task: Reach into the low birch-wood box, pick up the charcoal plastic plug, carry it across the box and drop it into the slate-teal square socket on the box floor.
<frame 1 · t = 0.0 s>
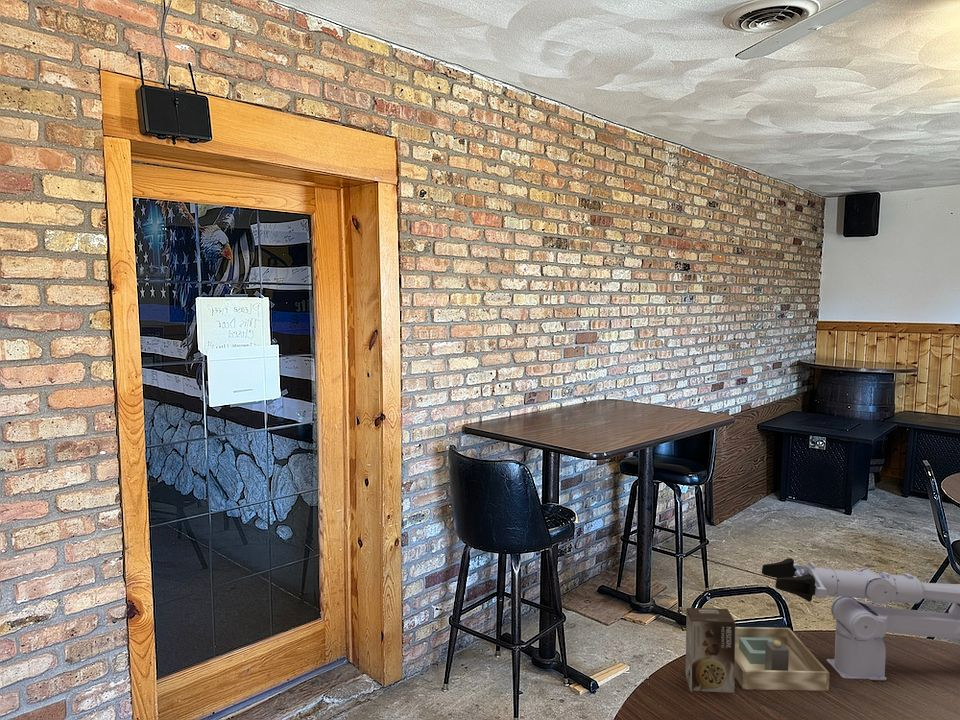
hand: (769, 576, 149), 22 cm above the table, tool horizontal, fingers open, 7 cm apart
coffee box: (708, 687, 144), on the table
plug: (776, 676, 147), point 1 cm above the table, touching walled box
walled box: (767, 667, 152), on the table
socket: (760, 658, 156), resting on walled box
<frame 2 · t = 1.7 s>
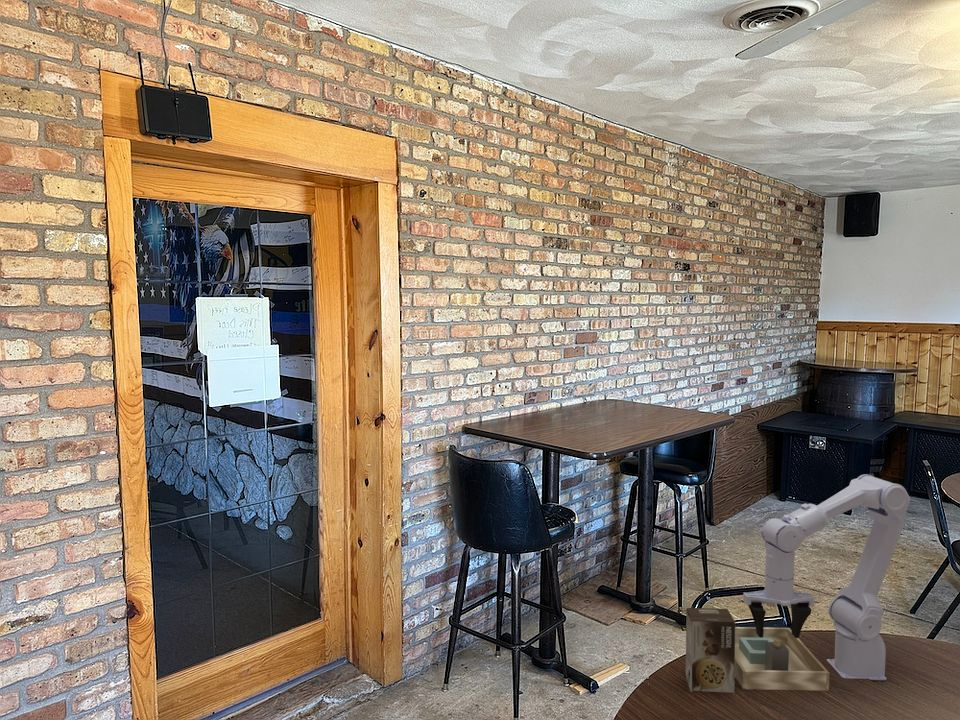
hand: (777, 635, 146), 10 cm above the table, tool pointing down, fingers open, 7 cm apart
nothing on the table moved.
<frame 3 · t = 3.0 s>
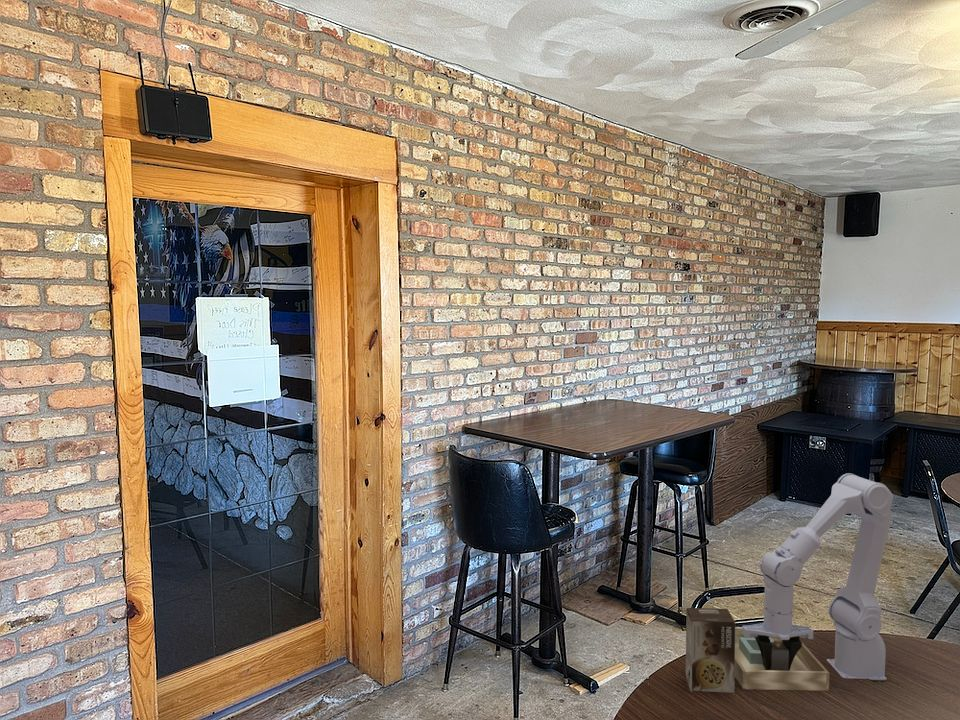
hand: (776, 668, 147), 2 cm above the table, tool pointing down, fingers closed on plug, 4 cm apart
plug: (776, 676, 147), point 1 cm above the table, touching gripper, walled box
everything else where it was.
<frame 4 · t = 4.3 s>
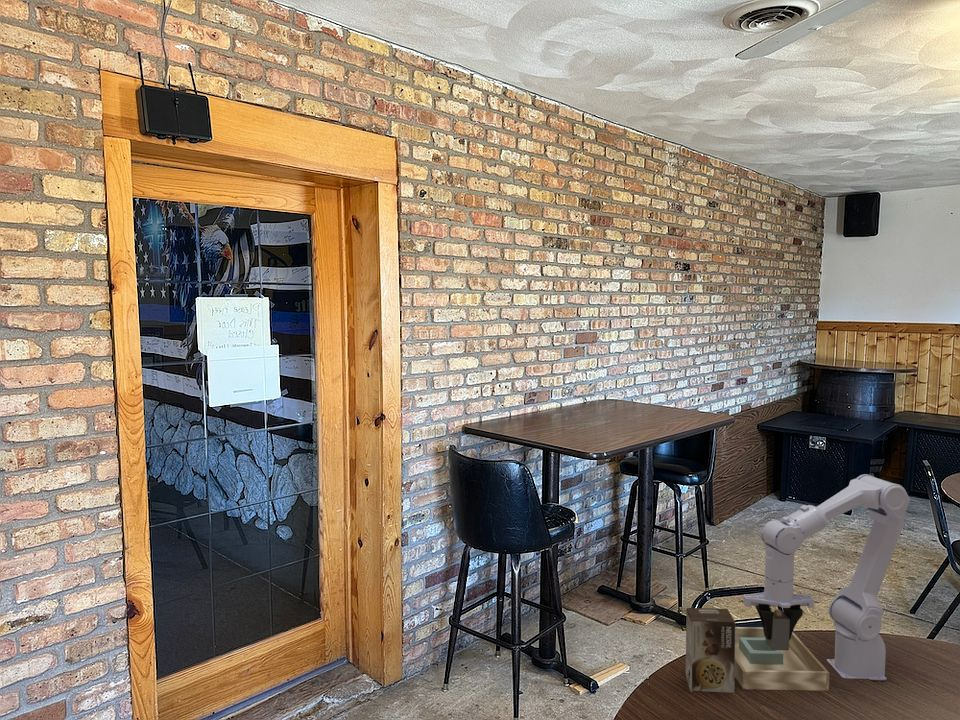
hand: (777, 637, 146), 9 cm above the table, tool pointing down, fingers closed on plug, 4 cm apart
plug: (776, 646, 146), point 8 cm above the table, touching gripper
everything else where it was.
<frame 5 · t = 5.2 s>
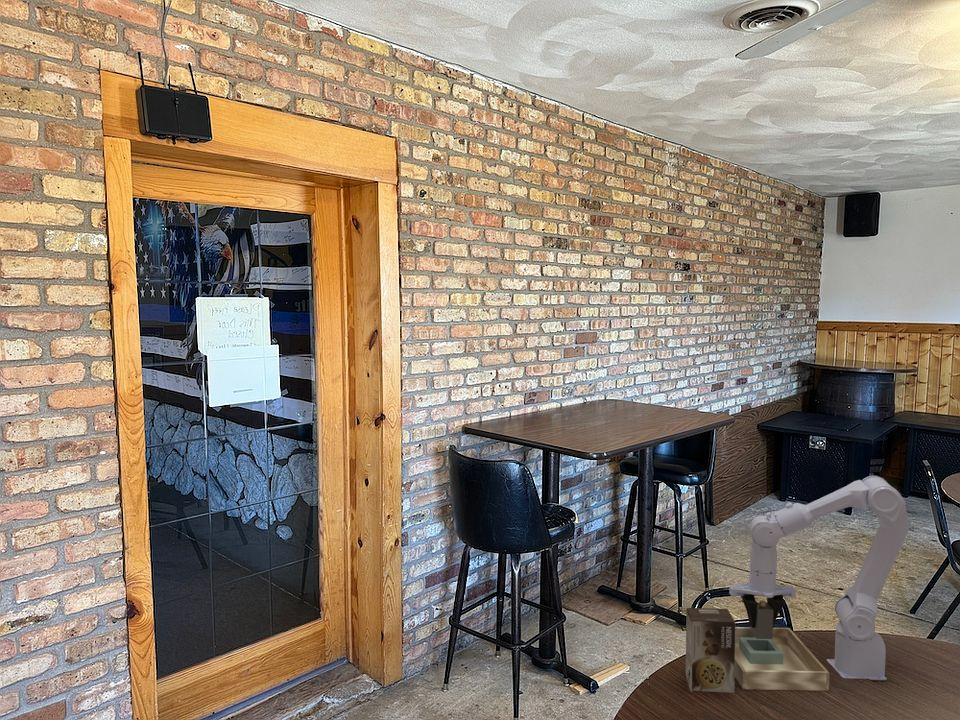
hand: (761, 625, 155), 8 cm above the table, tool pointing down, fingers closed on plug, 4 cm apart
plug: (761, 635, 155), point 6 cm above the table, touching gripper
everything else where it was.
when the fingers open (6 cm above the table, at t = 5.8 s): plug drops 3 cm, resting on walled box.
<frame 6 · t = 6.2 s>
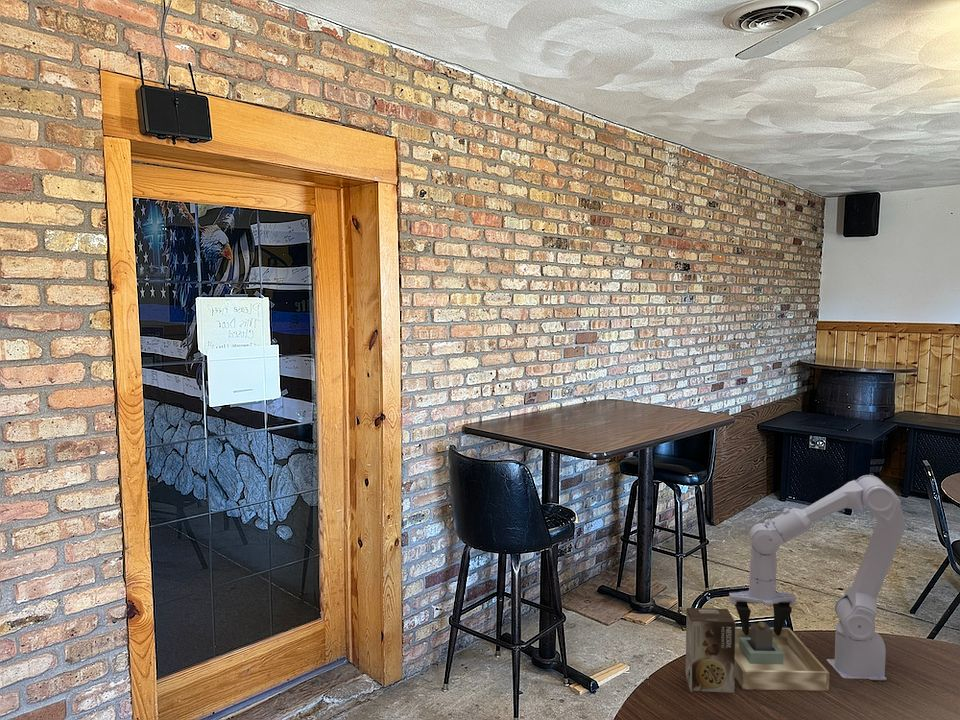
hand: (761, 633, 155), 6 cm above the table, tool pointing down, fingers open, 7 cm apart
plug: (760, 656, 155), point 1 cm above the table, touching walled box
everything else where it was.
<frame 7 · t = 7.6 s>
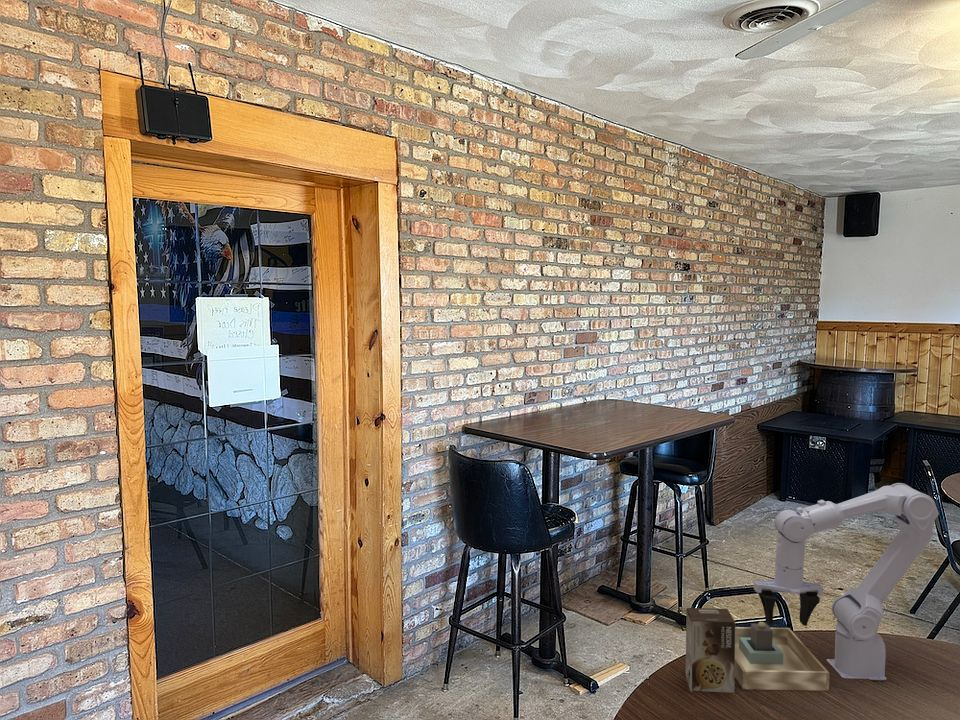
hand: (786, 623, 151), 10 cm above the table, tool pointing down, fingers open, 7 cm apart
nothing on the table moved.
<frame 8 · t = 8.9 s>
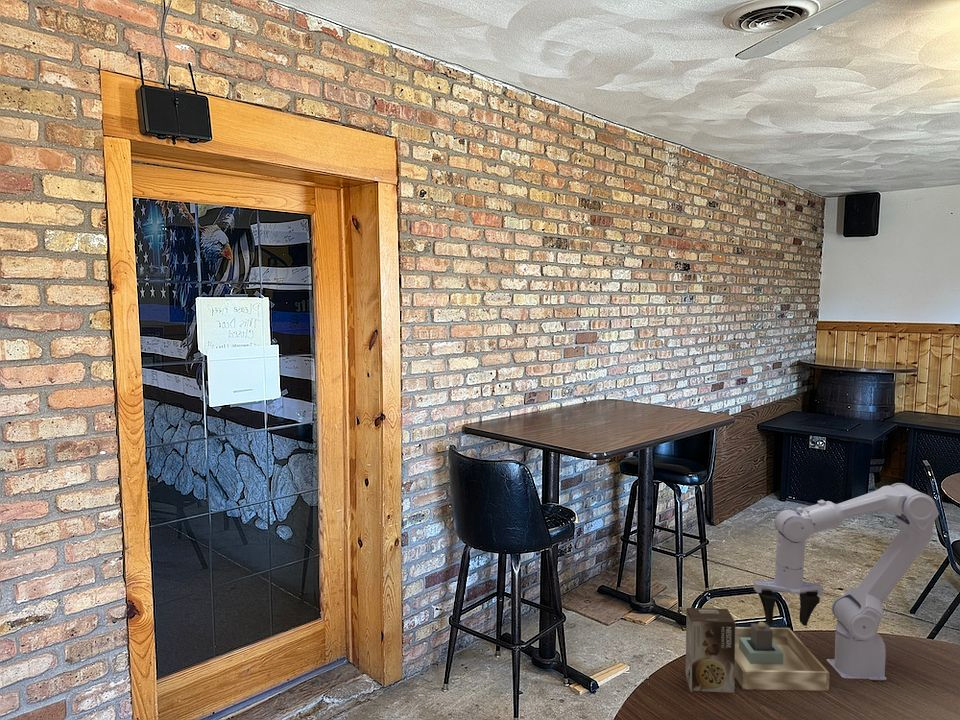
hand: (786, 623, 151), 10 cm above the table, tool pointing down, fingers open, 7 cm apart
nothing on the table moved.
at the end: plug 0.3 cm off-centre on the socket, point 0.6 cm above the socket's base; plug tilted 0°; the gripper is holding nothing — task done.
